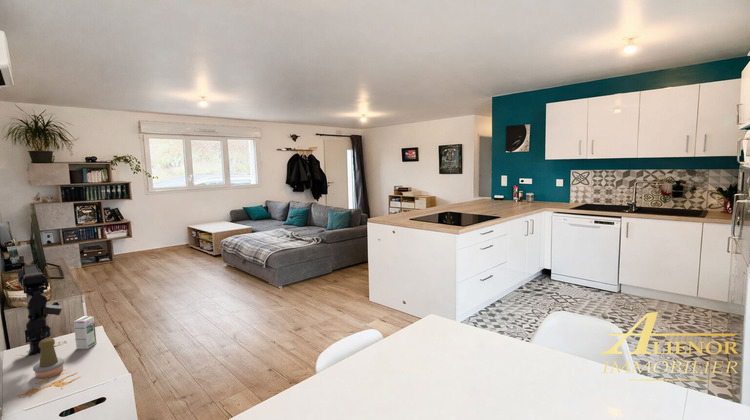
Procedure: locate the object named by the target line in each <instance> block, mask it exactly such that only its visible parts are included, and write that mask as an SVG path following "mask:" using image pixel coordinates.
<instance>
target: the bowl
mask: <svg viewBox="0 0 750 420" xmlns="http://www.w3.org/2000/svg"><path fill="white" fill-rule="evenodd" d="M63 370H64V363H63V364H62V365H61V366H59V367H57V368H55V369H52V370H49V371H45V372H35V371H34V376H35V378H37V379H47V378H51V377H54V376H57V375H59V374H60V373H61V372H62V371H63Z"/></svg>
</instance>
